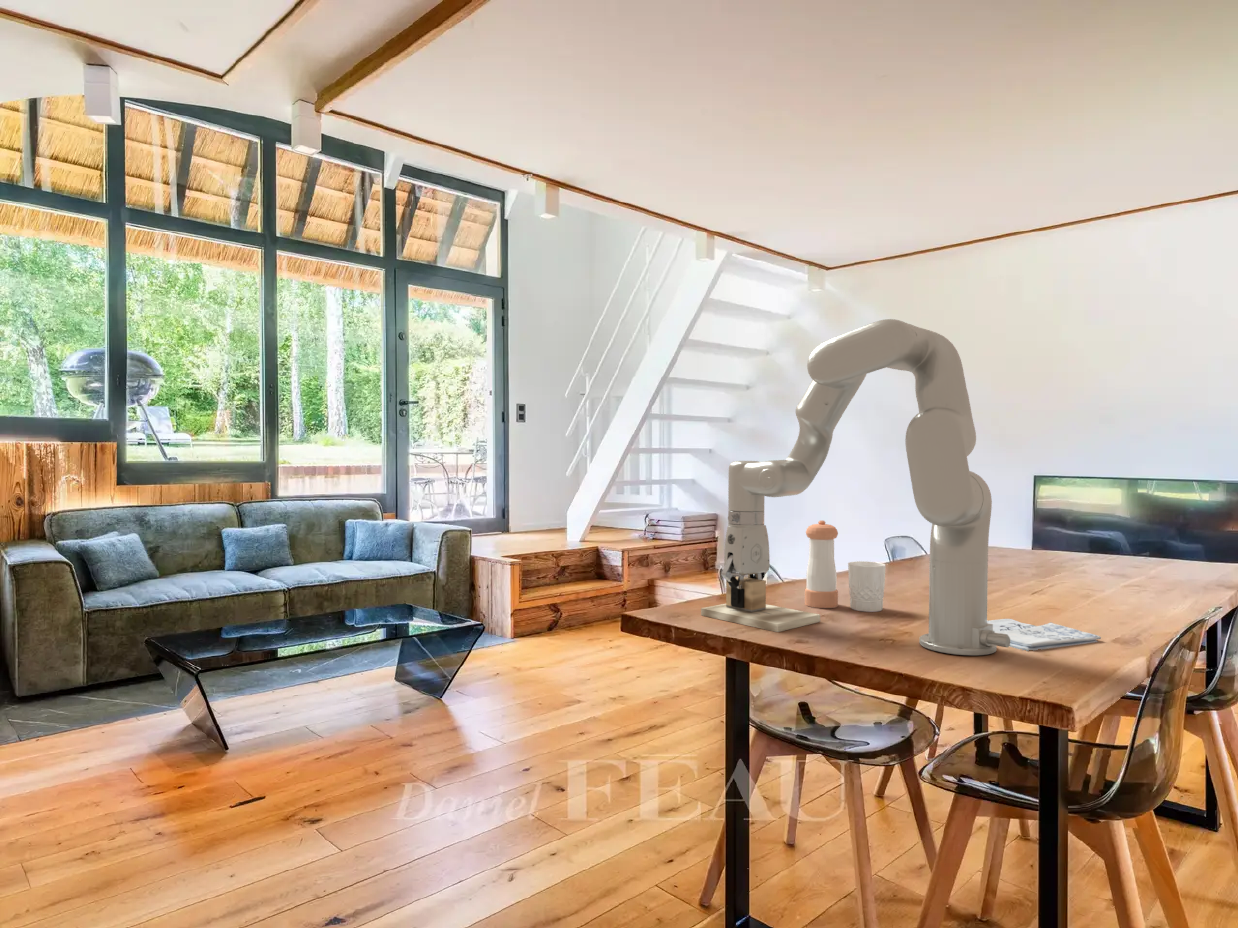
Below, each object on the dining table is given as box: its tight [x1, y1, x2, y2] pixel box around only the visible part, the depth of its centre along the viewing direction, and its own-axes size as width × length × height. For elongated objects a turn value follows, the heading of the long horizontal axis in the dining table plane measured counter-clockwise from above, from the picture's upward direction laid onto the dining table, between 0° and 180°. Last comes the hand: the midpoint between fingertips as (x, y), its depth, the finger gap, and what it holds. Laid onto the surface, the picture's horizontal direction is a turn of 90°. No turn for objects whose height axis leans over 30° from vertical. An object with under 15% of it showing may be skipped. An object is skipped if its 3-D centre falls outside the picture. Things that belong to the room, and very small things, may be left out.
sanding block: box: [725, 576, 767, 612], centre depth 165 cm, size 7×4×6 cm, turn 41°
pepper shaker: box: [804, 520, 839, 609], centre depth 177 cm, size 7×7×19 cm
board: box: [700, 603, 821, 633], centre depth 163 cm, size 20×14×2 cm
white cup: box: [847, 560, 887, 613], centre depth 173 cm, size 8×8×10 cm
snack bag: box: [987, 618, 1102, 652], centre depth 150 cm, size 19×20×2 cm
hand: (745, 604), depth 165 cm, fingers closed on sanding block, 4 cm apart
